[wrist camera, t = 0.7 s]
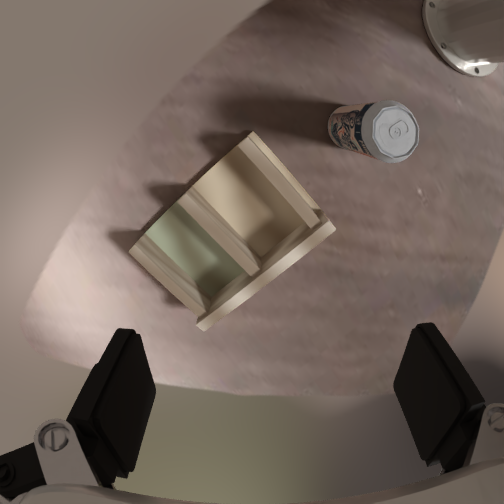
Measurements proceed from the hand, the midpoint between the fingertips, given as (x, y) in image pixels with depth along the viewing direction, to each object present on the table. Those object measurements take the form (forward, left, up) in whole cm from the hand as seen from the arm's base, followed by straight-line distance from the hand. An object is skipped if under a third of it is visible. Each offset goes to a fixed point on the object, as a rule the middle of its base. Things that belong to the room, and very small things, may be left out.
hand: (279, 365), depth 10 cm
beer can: (-12, +1, -26) cm, 28 cm away
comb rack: (+5, +1, -25) cm, 26 cm away
